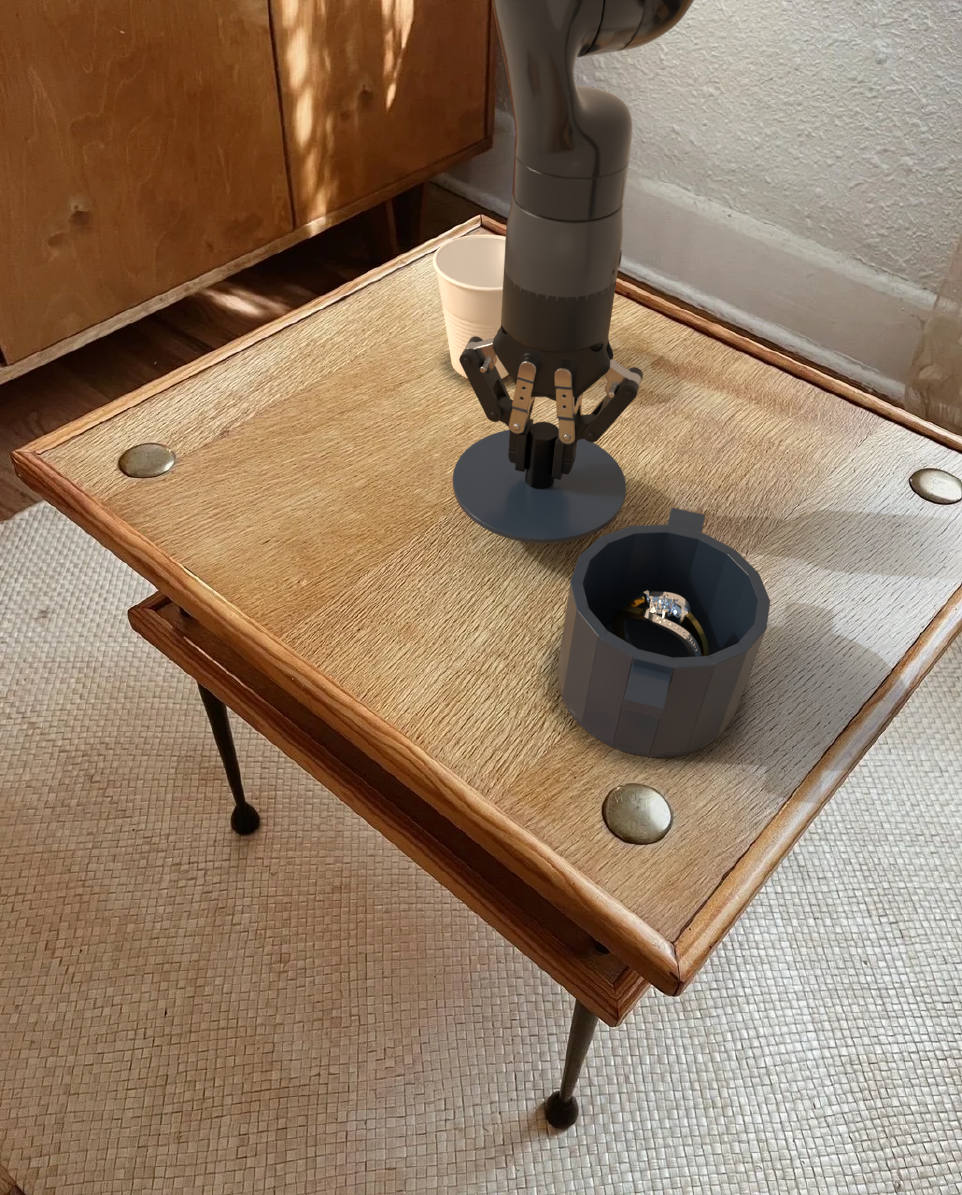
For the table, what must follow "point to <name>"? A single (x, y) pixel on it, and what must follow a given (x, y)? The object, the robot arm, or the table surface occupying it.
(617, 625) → the ring
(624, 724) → the pot
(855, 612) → the table surface
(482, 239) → the cup
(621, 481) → the lid
